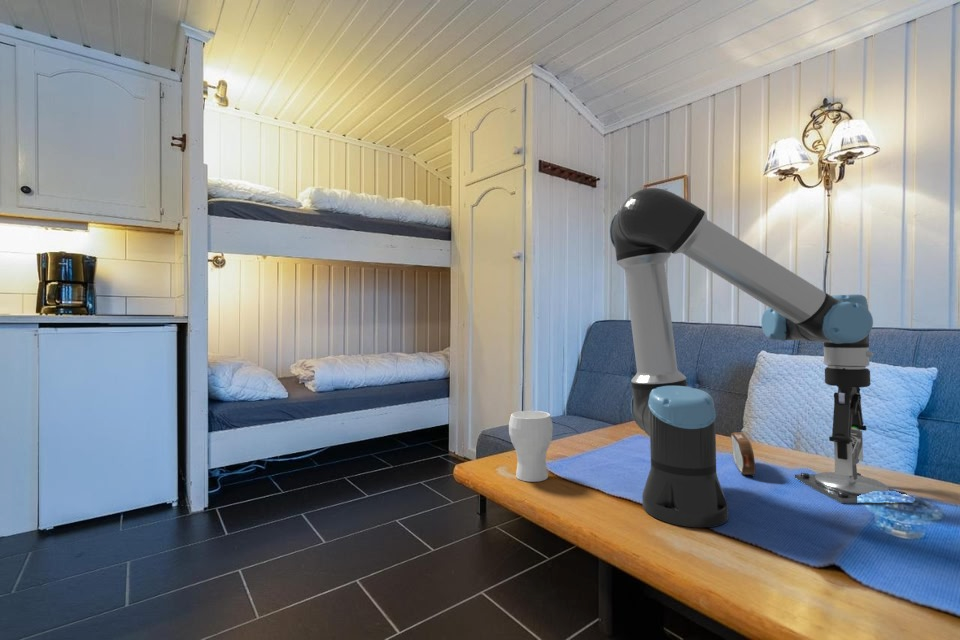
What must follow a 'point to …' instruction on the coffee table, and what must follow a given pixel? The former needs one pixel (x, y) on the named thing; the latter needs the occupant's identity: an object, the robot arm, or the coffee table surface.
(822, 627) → the coffee table surface
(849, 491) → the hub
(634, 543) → the coffee table surface
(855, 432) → the mechanical component
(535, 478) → the cup
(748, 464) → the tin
